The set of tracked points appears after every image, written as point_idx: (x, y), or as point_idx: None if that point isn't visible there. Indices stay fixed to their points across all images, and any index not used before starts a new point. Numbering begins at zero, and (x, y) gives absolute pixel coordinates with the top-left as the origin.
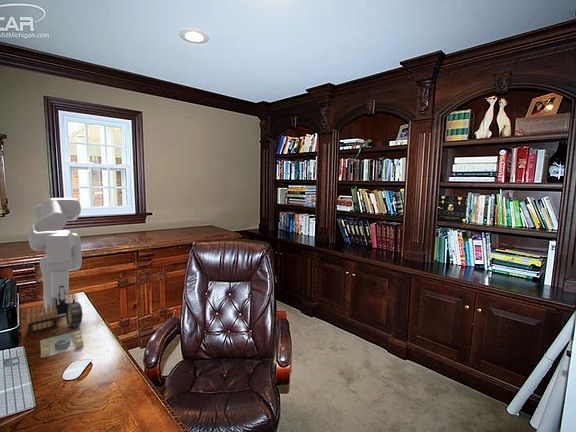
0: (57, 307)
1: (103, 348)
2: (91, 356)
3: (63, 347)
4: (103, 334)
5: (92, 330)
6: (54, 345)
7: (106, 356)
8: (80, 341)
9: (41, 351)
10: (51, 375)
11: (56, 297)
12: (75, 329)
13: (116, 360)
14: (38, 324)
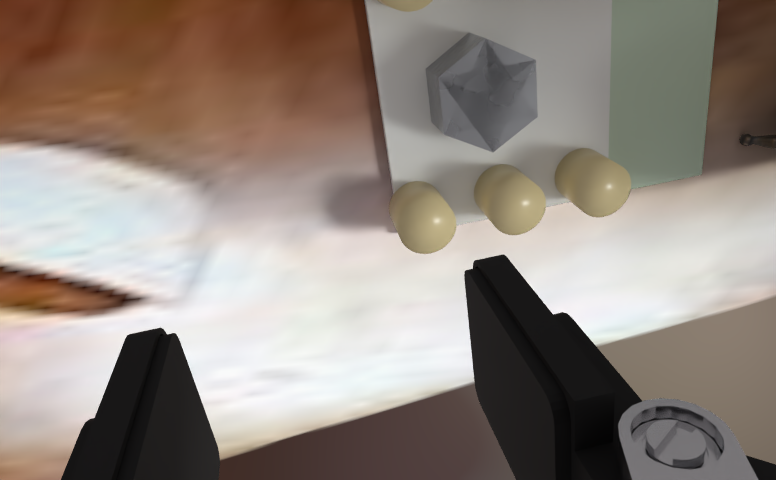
0: (84, 462)
1: (316, 350)
2: (226, 293)
3: (434, 103)
4: None
5: (656, 256)
6: (544, 19)
7: None
8: (405, 237)
9: None
10: (23, 62)
11: (709, 423)
12: (745, 144)
13: None
14: None
